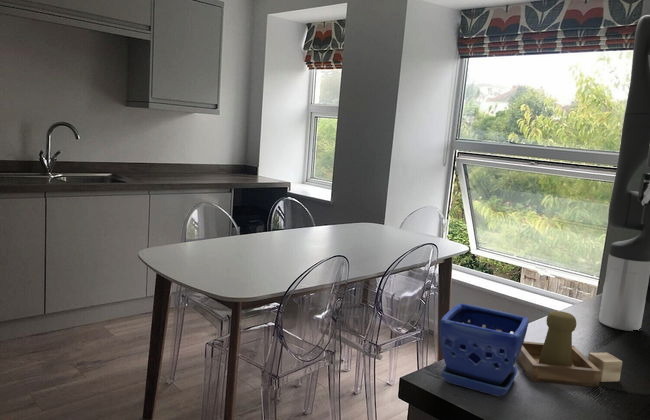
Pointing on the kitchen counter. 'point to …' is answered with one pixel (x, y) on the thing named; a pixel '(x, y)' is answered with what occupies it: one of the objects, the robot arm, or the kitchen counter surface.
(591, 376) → the tray
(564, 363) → the cork
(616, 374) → the beech block
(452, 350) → the flower pot
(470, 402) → the kitchen counter surface
